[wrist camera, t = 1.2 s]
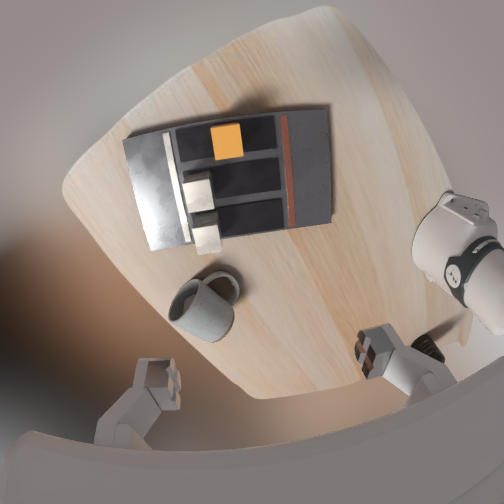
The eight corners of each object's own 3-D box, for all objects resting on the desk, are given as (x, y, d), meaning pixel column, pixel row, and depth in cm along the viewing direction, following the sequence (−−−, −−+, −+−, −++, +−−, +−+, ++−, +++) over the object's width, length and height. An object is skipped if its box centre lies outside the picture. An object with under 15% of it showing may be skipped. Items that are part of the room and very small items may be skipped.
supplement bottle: (426, 347, 62) (446, 378, 51) (406, 355, 62) (426, 389, 51) (432, 330, 58) (455, 362, 48) (411, 339, 58) (433, 374, 48)
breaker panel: (322, 109, 33) (342, 110, 27) (327, 218, 40) (344, 238, 35) (126, 138, 32) (108, 145, 26) (153, 245, 40) (143, 268, 34)
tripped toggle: (237, 122, 31) (239, 124, 27) (241, 150, 32) (243, 156, 28) (212, 126, 30) (210, 128, 27) (216, 154, 32) (215, 160, 28)
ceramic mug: (207, 323, 48) (207, 355, 41) (170, 298, 44) (164, 330, 38) (250, 286, 45) (257, 317, 38) (212, 256, 42) (212, 286, 35)
